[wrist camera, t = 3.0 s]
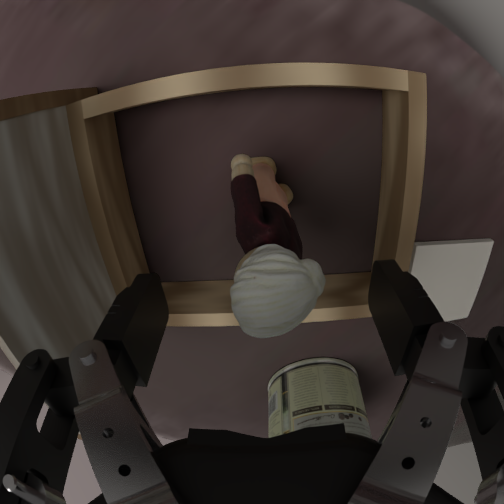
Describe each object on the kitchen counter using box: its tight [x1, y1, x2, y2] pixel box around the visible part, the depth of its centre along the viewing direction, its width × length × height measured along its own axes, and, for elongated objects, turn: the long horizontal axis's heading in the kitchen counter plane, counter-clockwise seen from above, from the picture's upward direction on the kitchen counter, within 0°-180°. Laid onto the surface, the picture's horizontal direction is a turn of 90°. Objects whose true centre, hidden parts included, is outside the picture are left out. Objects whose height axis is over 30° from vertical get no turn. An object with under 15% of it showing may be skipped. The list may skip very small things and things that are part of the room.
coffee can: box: [268, 357, 372, 439], centre depth 25 cm, size 10×10×14 cm
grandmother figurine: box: [230, 154, 326, 338], centre depth 15 cm, size 8×4×13 cm, turn 40°
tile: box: [408, 238, 494, 322], centre depth 23 cm, size 9×9×1 cm
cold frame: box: [0, 63, 427, 440], centre depth 14 cm, size 21×18×14 cm
